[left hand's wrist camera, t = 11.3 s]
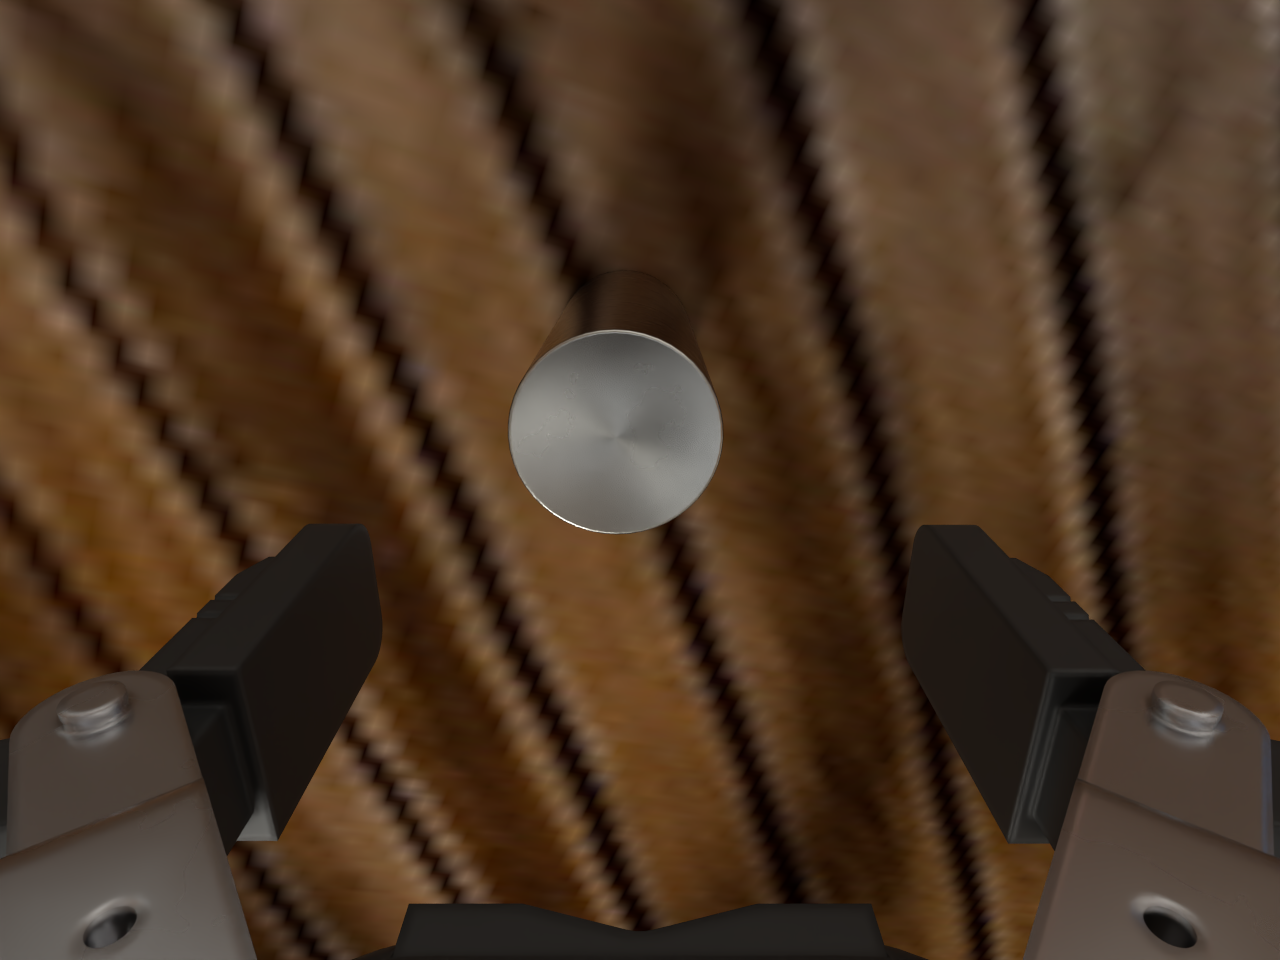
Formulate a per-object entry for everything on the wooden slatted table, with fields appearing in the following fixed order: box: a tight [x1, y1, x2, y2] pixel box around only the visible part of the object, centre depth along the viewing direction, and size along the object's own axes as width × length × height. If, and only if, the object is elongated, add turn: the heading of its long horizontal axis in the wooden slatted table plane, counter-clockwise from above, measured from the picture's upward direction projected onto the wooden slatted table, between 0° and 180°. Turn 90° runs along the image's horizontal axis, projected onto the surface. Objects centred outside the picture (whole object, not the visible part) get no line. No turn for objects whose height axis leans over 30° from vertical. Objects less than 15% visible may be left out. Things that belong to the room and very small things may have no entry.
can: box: [508, 270, 723, 534], centre depth 23 cm, size 5×5×12 cm
